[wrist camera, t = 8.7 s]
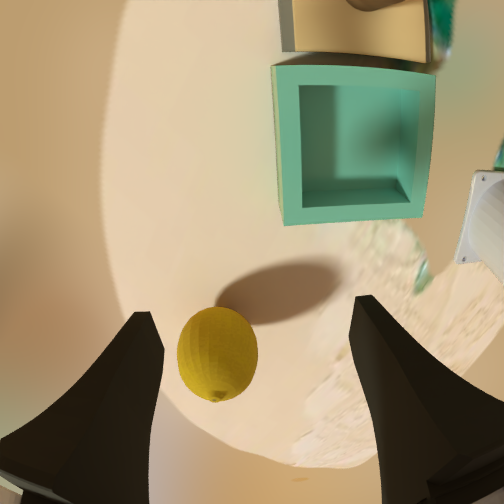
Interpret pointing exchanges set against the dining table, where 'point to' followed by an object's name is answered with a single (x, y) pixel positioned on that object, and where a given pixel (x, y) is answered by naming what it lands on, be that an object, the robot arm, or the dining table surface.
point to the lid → (361, 27)
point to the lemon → (217, 354)
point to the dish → (351, 142)
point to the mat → (288, 27)
